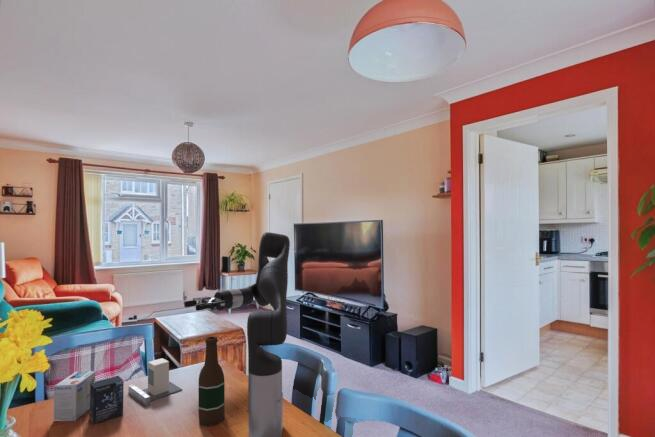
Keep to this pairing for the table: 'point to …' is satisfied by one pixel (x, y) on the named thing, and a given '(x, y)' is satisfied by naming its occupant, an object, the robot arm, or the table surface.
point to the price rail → (139, 395)
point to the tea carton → (158, 376)
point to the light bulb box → (73, 396)
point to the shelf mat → (172, 390)
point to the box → (106, 399)
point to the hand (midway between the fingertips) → (190, 306)
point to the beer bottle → (211, 387)
